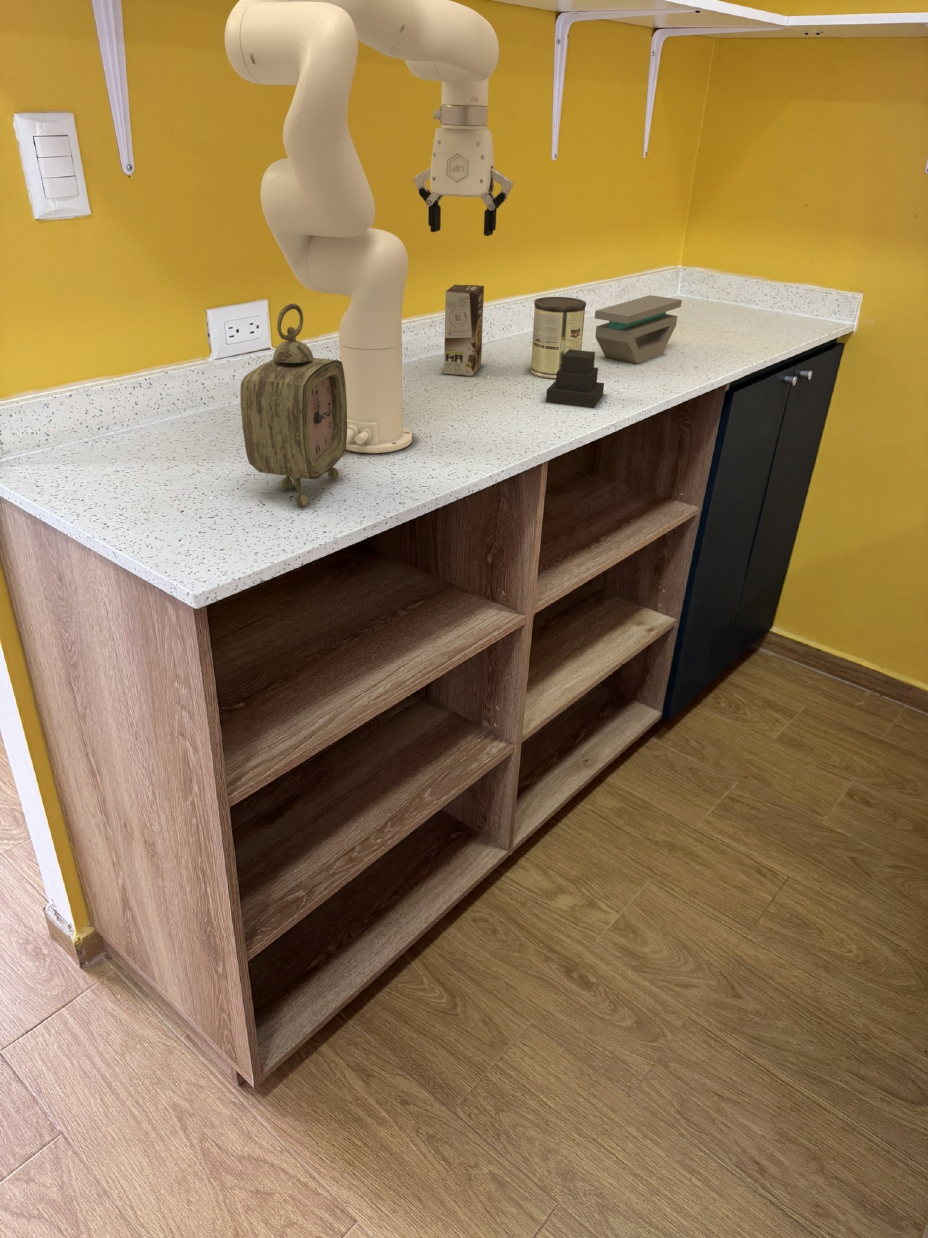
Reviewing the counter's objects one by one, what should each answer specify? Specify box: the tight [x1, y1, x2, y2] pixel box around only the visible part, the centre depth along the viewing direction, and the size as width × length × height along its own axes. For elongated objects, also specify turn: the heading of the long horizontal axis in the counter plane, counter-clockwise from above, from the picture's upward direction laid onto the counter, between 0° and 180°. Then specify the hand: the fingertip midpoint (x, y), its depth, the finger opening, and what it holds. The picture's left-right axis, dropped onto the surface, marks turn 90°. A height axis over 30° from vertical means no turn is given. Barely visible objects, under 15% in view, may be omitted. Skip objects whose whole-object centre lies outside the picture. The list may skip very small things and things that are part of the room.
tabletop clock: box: [239, 303, 347, 507], centre depth 117 cm, size 14×9×25 cm, turn 164°
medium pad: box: [555, 366, 599, 392], centre depth 164 cm, size 6×6×3 cm
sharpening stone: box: [594, 294, 683, 365], centre depth 193 cm, size 25×8×11 cm, turn 143°
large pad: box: [545, 380, 605, 409], centre depth 165 cm, size 9×9×2 cm
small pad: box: [562, 349, 596, 374], centre depth 163 cm, size 5×5×3 cm
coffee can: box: [530, 296, 587, 379], centre depth 179 cm, size 10×10×14 cm
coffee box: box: [443, 284, 485, 377], centre depth 178 cm, size 9×6×16 cm
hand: (461, 232), depth 152 cm, fingers open, 9 cm apart
